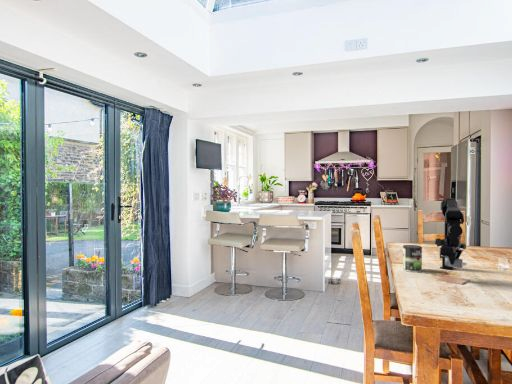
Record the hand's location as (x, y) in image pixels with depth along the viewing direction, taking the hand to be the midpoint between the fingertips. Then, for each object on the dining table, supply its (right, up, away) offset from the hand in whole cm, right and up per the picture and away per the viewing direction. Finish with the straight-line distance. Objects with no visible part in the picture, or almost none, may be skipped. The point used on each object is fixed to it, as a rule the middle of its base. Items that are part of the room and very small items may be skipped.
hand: (453, 263), depth 191 cm
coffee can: (-12, -9, +23) cm, 27 cm away
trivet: (0, -9, 0) cm, 9 cm away
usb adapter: (0, -1, 0) cm, 1 cm away
